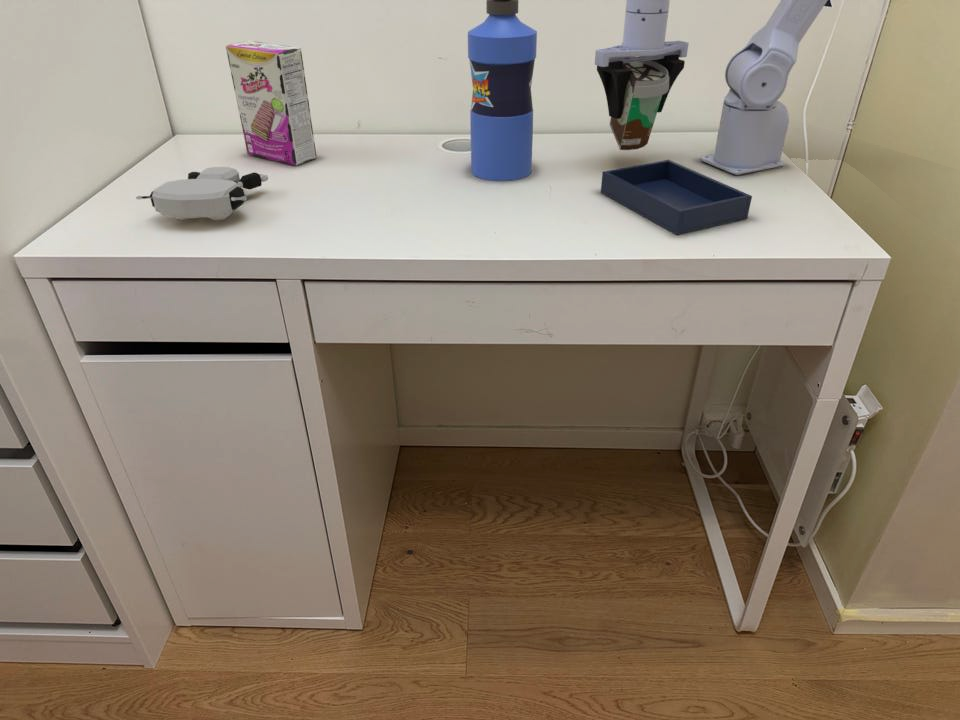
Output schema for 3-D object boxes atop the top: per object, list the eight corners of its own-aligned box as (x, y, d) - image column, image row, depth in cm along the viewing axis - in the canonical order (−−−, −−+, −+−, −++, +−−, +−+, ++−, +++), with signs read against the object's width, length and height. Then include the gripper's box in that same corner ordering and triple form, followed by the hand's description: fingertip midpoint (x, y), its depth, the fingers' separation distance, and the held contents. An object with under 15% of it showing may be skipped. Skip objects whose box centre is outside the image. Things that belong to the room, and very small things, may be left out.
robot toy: (192, 194, 98) (140, 228, 85) (186, 162, 96) (131, 192, 83) (276, 195, 98) (236, 230, 85) (271, 163, 95) (230, 194, 82)
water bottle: (514, 157, 108) (517, -24, 94) (544, 175, 101) (552, -19, 87) (460, 166, 105) (455, -21, 91) (487, 185, 98) (485, -14, 84)
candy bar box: (245, 156, 110) (223, 45, 101) (268, 147, 114) (249, 39, 105) (295, 167, 105) (277, 51, 96) (318, 158, 109) (302, 46, 100)
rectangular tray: (665, 180, 99) (668, 159, 97) (747, 218, 87) (752, 195, 85) (600, 192, 95) (602, 171, 93) (676, 235, 83) (680, 211, 81)
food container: (664, 156, 98) (682, 85, 92) (621, 154, 98) (636, 82, 91) (646, 123, 108) (661, 56, 101) (607, 121, 107) (620, 54, 101)
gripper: (670, 4, 99) (658, 102, 107) (585, 11, 94) (579, 113, 102) (704, 9, 94) (688, 112, 101) (615, 17, 89) (606, 125, 96)
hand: (635, 114), depth 101 cm, fingers closed on food container, 7 cm apart
